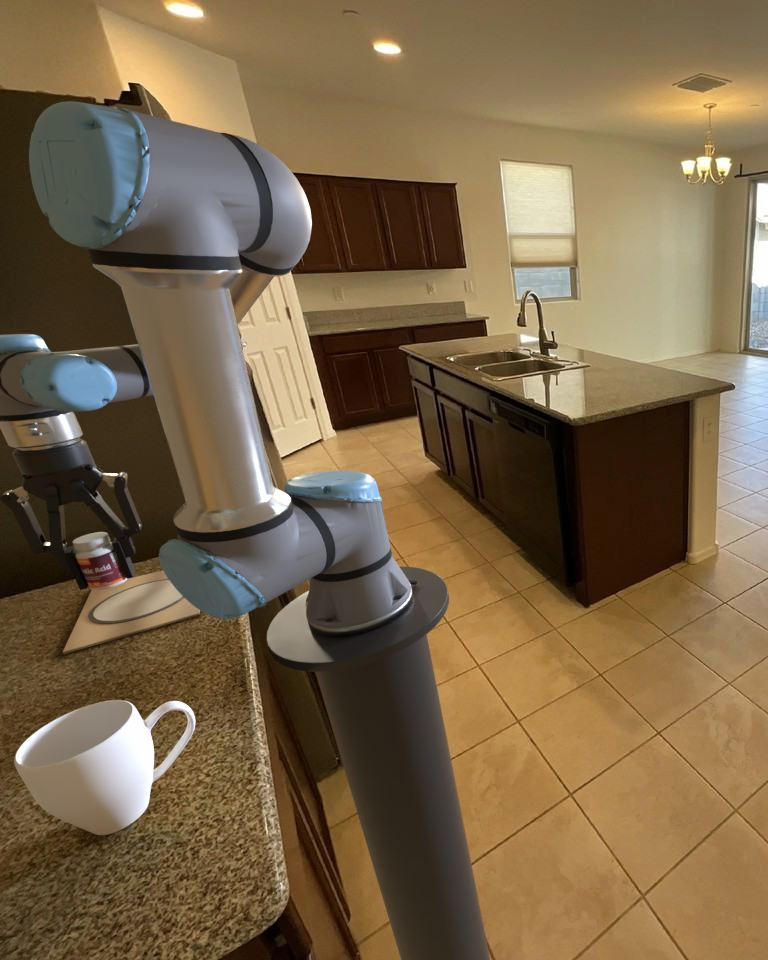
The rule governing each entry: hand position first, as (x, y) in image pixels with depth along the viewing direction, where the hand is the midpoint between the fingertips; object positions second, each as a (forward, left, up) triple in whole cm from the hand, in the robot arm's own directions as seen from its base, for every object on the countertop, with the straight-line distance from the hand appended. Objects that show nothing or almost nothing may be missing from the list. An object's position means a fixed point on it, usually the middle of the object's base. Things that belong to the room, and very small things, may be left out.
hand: (108, 579), depth 85 cm
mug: (-8, +48, -7) cm, 49 cm away
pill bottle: (0, 0, -1) cm, 1 cm away
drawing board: (-3, -2, -6) cm, 7 cm away
